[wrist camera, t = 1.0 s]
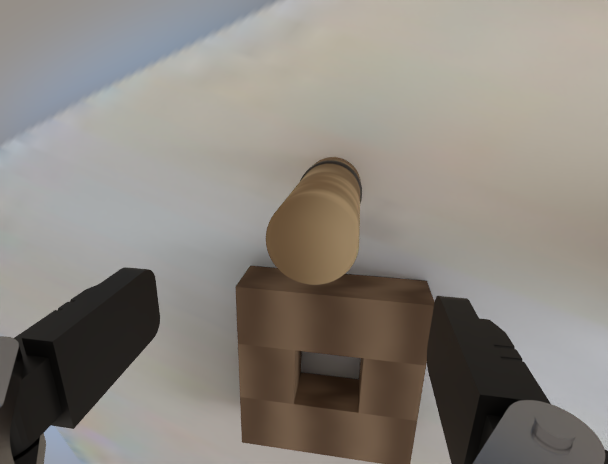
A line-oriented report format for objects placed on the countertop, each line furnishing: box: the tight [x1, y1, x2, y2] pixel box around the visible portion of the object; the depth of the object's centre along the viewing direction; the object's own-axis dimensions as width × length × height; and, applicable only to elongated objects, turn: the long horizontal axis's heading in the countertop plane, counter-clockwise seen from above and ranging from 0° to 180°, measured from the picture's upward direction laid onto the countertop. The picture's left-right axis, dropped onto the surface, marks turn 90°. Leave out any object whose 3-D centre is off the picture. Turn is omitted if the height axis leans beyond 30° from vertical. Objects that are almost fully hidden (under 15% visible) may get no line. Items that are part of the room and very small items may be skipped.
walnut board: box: [236, 266, 435, 464], centre depth 32 cm, size 15×16×4 cm
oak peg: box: [266, 157, 362, 285], centre depth 22 cm, size 4×4×14 cm
